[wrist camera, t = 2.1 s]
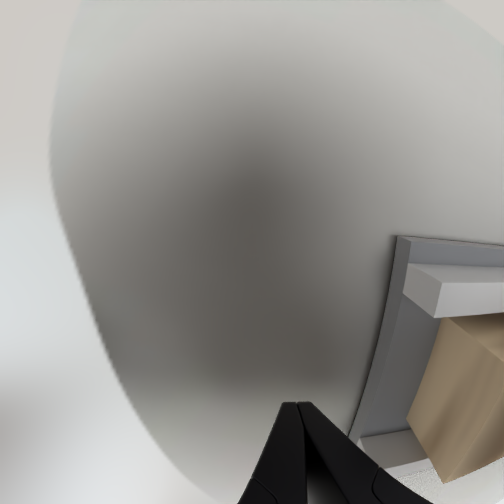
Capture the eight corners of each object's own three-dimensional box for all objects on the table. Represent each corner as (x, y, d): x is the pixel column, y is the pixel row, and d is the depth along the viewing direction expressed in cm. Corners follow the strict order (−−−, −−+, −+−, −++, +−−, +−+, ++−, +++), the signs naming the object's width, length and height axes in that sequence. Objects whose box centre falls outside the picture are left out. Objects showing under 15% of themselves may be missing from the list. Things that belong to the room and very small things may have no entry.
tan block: (518, 307, 9) (576, 343, 5) (483, 399, 10) (523, 445, 6) (442, 314, 9) (511, 369, 5) (405, 418, 10) (443, 483, 6)
